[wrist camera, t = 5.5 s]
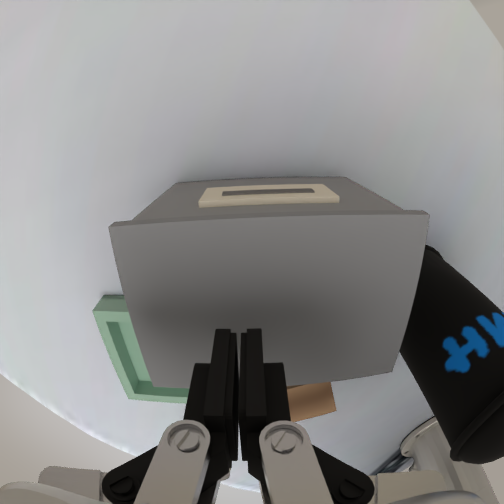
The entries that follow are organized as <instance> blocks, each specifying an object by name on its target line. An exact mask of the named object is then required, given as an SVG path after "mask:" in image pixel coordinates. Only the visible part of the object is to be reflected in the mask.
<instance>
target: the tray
mask: <svg viewBox="0 0 504 504" xmlns="http://www.w3.org/2000/svg"><path fill="white" fill-rule="evenodd" d="M93 314H94V317H95V320H96V322H97V325H98V328H99V331H100V333H101V336H102V339H103V341H104V344H105V346H106V349H107V351H108V354H109V356H110V359H111V361H112V364H113V366H114V368H115V370H116V373H117V375H118V377H119V379H120V382H121V384H122V386H123V388H124V390H125V392H126V395H127V397H128V399H133V400H143V401H154V402H168V403H187V398H188V393H189V388H168V387H153V384H152V382H151V379H150V376H149V373H148V371H147V368H146V365H145V362H144V359H143V356H142V353H141V350H140V347H139V344H138V341H137V338H136V335H135V332H134V329H133V325H132V322H131V319H130V315H129V312H128V308H127V305H126V301H125V297H124V295H104V296H103V297H102V298H101V300H100V301H99V303H98V304H97V305H96V307H95V308H94V309H93Z"/></svg>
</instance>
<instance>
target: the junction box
mask: <svg viewBox="0 0 504 504" xmlns="http://www.w3.org/2000/svg"><path fill="white" fill-rule="evenodd" d="M429 217H430V215H429V214H428V213H426V212H424V211H416V210H403V209H401V208H400V207H398V206H396V205H395V204H393V203H391V202H390V201H388V200H386V199H384V198H383V197H381V196H379V195H377V194H376V193H374V192H372V191H370V190H368V189H366V188H365V187H363V186H361V185H359V184H357V183H355V182H353V181H352V180H350V179H348V178H346V177H276V178H248V179H228V180H211V181H197V182H184V183H176V184H174V185H173V186H172V187H171V188H169V189H168V190H167V191H166V192H164V193H163V194H162V195H161V196H160V197H158V198H157V199H156V200H155V201H154V202H152V203H151V204H150V205H149V206H148V207H147V208H145V209H144V210H143V211H142V212H141V213H140V214H138V215H137V216H136V217H135V218H134V219H133V220H132V221H121V222H114V223H113V224H111V225H110V226H109V232H110V237H111V242H112V247H113V252H114V256H115V261H116V265H117V270H118V274H119V278H120V282H121V286H122V290H123V294H124V297H125V301H126V305H127V308H128V312H129V315H130V319H131V322H132V325H133V329H134V332H135V335H136V338H137V341H138V344H139V347H140V350H141V353H142V356H143V359H144V362H145V365H146V368H147V371H148V373H149V376H150V379H151V382H152V384H153V387H168V388H190V383H191V378H192V373H193V368H194V364H195V363H211V356H212V349H213V342H214V336H215V330H216V329H231V333H236V334H237V351H238V367H239V376H240V345H241V333H245V332H247V329H254V328H261V329H262V346H263V363H280V362H283V364H284V371H285V378H286V386H294V385H305V384H315V383H324V382H332V381H340V380H347V379H354V378H360V377H366V376H372V375H378V374H383V373H388V372H392V371H393V368H394V365H395V362H396V359H397V356H398V353H399V350H400V347H401V344H402V340H403V337H404V334H405V330H406V327H407V324H408V320H409V316H410V313H411V309H412V305H413V301H414V297H415V293H416V288H417V284H418V280H419V275H420V270H421V265H422V260H423V255H424V249H425V243H426V237H427V231H428V224H429Z"/></svg>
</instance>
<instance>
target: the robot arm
mask: <svg viewBox="0 0 504 504" xmlns="http://www.w3.org/2000/svg"><path fill="white" fill-rule="evenodd" d="M238 425H239V429H240V441H241V452H242V461H248V473H250V474H251V475H252V476H253V477H255V478H256V479H257V480H259V485H260V490H261V494H262V498H263V503H264V504H499V502H498V500H497V498H496V496H495V493H494V491H493V489H492V487H491V484H490V482H489V480H488V478H487V475H486V473H485V471H484V469H483V467H482V465H481V464H471V463H465V462H463V461H460V462H457V461H453V460H452V459H451V458H450V450H451V448H450V445H449V443H448V441H447V439H446V437H445V435H444V433H443V431H442V429H441V427H440V425H439V423H438V421H437V419H436V417H434V418H432V419H430V420H429V421H427V422H425V423H424V424H422V425H421V426H420V427H418V428H417V429H416V430H414V431H413V432H412V433H411V434H410V435H409V436H408V437H407V438H406V439H405V440H404V441H403V443H402V444H401V446H400V450H401V453H402V455H403V456H406V457H413V459H414V462H413V465H412V466H411V467H410V468H409V472H398V473H378V474H377V476H367V475H366V474H364V473H363V472H361V471H359V470H357V469H355V468H353V467H351V466H349V465H347V464H345V463H344V462H342V461H340V460H338V459H336V458H335V457H333V456H331V455H329V454H328V453H326V452H324V451H322V450H321V449H319V448H317V447H316V446H314V445H312V444H311V441H310V438H309V436H308V433H307V432H306V430H305V429H304V428H303V427H302V426H301V425H299V424H297V423H295V422H292V421H291V417H290V409H289V401H288V394H287V386H286V378H285V371H284V364H283V362H280V363H263V346H262V329H261V328H254V329H247V332H245V333H241V345H240V376H239V367H238V351H237V334H236V333H231V329H216V330H215V336H214V342H213V349H212V356H211V363H195V364H194V368H193V373H192V378H191V383H190V388H189V393H188V398H187V404H186V409H185V414H184V419H183V420H181V421H177V422H175V423H172V424H171V425H170V426H168V427H167V428H166V430H165V431H164V433H163V435H162V437H161V440H160V442H159V445H158V446H156V447H154V448H152V449H150V450H149V451H147V452H145V453H143V454H141V455H140V456H138V457H136V458H134V459H132V460H130V461H128V462H126V463H125V464H123V465H121V466H119V467H117V468H115V469H113V470H111V471H110V472H108V473H105V472H101V471H100V470H88V469H76V468H66V467H57V466H49V467H47V468H45V469H44V470H43V471H42V472H41V473H40V476H39V481H38V483H34V482H13V483H8V484H6V485H4V486H2V487H1V488H0V504H215V501H216V497H217V493H218V489H219V485H220V479H221V478H222V477H224V476H225V475H226V474H228V473H229V468H232V461H237V460H238Z"/></svg>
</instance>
